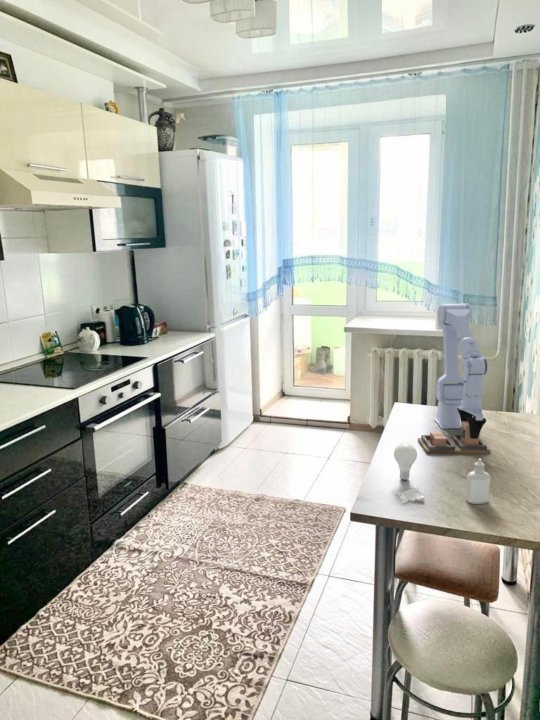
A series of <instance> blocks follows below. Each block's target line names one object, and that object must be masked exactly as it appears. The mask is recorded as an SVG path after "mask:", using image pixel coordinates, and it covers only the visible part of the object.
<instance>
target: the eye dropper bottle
mask: <svg viewBox="0 0 540 720" xmlns="http://www.w3.org/2000/svg"><path fill="white" fill-rule="evenodd" d="M485 466H486V465H485V463H484V462H483V461H482V458H478V460H477V461H476V462H474V467H473V470H471V471H470V472H468V474H467V476H466V486H465V487H466V489H465V501H467V503H469V504H473V505H474V504H475V505H482V504H487V503H488V502H489V500H490V490H491V489H490V487H491V475H490V474H489V473H488V472H487V471H485Z"/></svg>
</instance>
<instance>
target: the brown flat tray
mask: <svg viewBox="0 0 540 720" xmlns="http://www.w3.org/2000/svg"><path fill="white" fill-rule="evenodd" d="M417 442H418V443H419V445H420V446H421V448H422V449H423V451H424V452H425V454H426V455H451V454H452V455H453V454H462V455H463V454H464V455H465V454H490V453H491V449H490V448H489V447H488V445H486V443H485V442H484V441H483V440H482V439H481V438H480V437H479V445H464V444H463V443H462V442H461V435H460V433H459V434H458V433H457V434H450V437H448V436H447V434H444V433H443V432H442V431H430V432H429V434H422V435H421V436H420V437H418V438H417Z"/></svg>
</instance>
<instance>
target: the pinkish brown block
mask: <svg viewBox="0 0 540 720" xmlns="http://www.w3.org/2000/svg"><path fill="white" fill-rule="evenodd" d="M459 429H460V432H459V434H460V435H461V442H462V443H463V444H464V445H479V438H480V435H479V436H478V439H471V437H470V428H469V423H468V421H462V427H461V428H459Z"/></svg>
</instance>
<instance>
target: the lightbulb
mask: <svg viewBox="0 0 540 720" xmlns="http://www.w3.org/2000/svg"><path fill="white" fill-rule="evenodd" d="M417 457H418V452H417V449H416V448H415V447H414V446H413V444H411V443H408V442H403V443H399V444H398V445H396V447H395V448H394V451H393V458H394V459H395V461H396V463H397V464H398V468H399V478H400V479H401V480H403V481H407V480H409V479H410V471H411V470H412V466H413V464H414V463H416V461H417V459H418V458H417Z"/></svg>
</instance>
